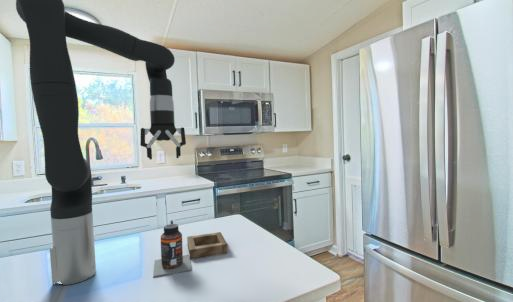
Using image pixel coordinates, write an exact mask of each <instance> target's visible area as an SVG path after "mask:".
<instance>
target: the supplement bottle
mask: <svg viewBox="0 0 513 302" xmlns="http://www.w3.org/2000/svg"><path fill="white" fill-rule="evenodd" d="M160 235H161V236H160V259H161V262H162V266H163V267H164V268H176V267H178V266H180V265H181V264H182V263H183V255H184V254H183V253H184V252H183V234H182V232H181V231H180V229H179V225H178V224H175V223H170V224H166V225H164V226H163V233H162V234H160Z"/></svg>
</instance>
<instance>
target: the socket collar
mask: <svg viewBox="0 0 513 302" xmlns="http://www.w3.org/2000/svg"><path fill="white" fill-rule="evenodd" d="M186 239H187V241H186V243H187V250H188V255H189V258H190V261H191V260H197V259H202V258H207V257H208V258H209V257H213V256H214V257H215V256H219V255H226V254H229V253H228V252H229V251H228V249H229V248H228V242H227V241H226V239H225V237H224V235H223V234H222V232H221V231H219V232H212V233H205V234H204V233H203V234H198V235H197V234H196V235H191V236H190V235H189V236H187V237H186Z"/></svg>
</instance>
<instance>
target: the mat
mask: <svg viewBox="0 0 513 302" xmlns="http://www.w3.org/2000/svg"><path fill="white" fill-rule="evenodd" d="M191 263H192V262H191V260H190V255H189V254H183V263H182V264H181V265H180V266H178V267H176V268H164V267H163V266H162V262H161V258H159V259H155V260H154V264H153V275H152V278H153V279H154V278H158V277H163V276H169V275H175V274H181V273H187V272H191V271H192V270H193V268H192V264H191Z"/></svg>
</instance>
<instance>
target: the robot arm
mask: <svg viewBox="0 0 513 302" xmlns="http://www.w3.org/2000/svg"><path fill="white" fill-rule="evenodd" d="M64 3H65V2H64V1H63V0H15V8H16V9H15V10H16V12H17V14H18V16H19V18H20V19H21V20H22V21H23V22H24V23H25V24H26V29H27V33H28V38H29V78H30V80H29V81H30V87H31V93H32V98H33V103H34V107H35V111H36V115H37V119H38V124H39V127H40V131H41V134H42V135H41V136H42V141H43V149H44V151H43V152H44V173H45V174H44V176H45V179H46V181H47V183H48V184H49V185H50V186H51V202H50V203H51V204H50V223H51V237H52V246H51V247H50V248H49V259H50V270H51V274H50V275H51V285H52V284H54V283H57V282H59V281H60V282H61V283H62V284H63V285H62V286H65V285H66V286H68V285H73V284H74V285H75V284H78V283H80V282H81V283H82V282H83V281H86V280H89V279H90V278H91V277H93V276H94V275H95V274H96V271H97V263H96V249H95V234H94V218H93V188H92V186H93V185H92V171H91V170H92V169H91V167H90V164H89V161H87V160H86V158H84V155H83V151H82V147H81V143H80V138H79V116H80V115H79V114H80V113H79V112H80V111H79V109H80V107H79V98H78V91H77V86H76V80H75V75H74V70H73V65H72V62H71V61H72V60H71V57H70V54H69V53H70V52H69V50H68V44H67V43H68V42H67V38H70V39H72V40H73V39H74V40H77V41H79V42H83V43H85V44H88V45H92V46H95V47H97V48H100V49H103V50H106V51H108V52H110V53H113V54H115V55H117V56H119V57H122V58H125V59H128V60H129V61H133V62H141V61H142V62H145V70H146V73H147V78H148V82H149V97H150V98H149V115H150V117H149V119H150V128H144V127H141V128H140V145H139V146H141V147H143V148H146V157H147V158H148V159H149V160H153V153H152V152H153V151H152V146H153V145H154V143H155V142H156V141H159V142H161V141H167V142H168V141H172V142H173V144H174V145H175V146H176V147H175V157H176V159H179V157H181V155H182V153H181V147H182V146H185V145H186V144H187V143H186V142H187V140H186V131H185V127H176V125H175V124H176V123H175V106H174V105H175V104H174V100H173V84H172V81H171V80H170V79H169V78H168V75H167V70H169V69H171V68H172V67H173V66H174V64H175V55H174V54H173V52H172V51H171V50H170V49H169V48H167V47H166V46H164V45H161V44H159V43H155V42H153V41H148V40H145V39H144V40H143V39H141V38H138V37H136V36H135V35H132V34H130V33H128V32H126V31H123V30H121V29H119V28H116V27H113V26H109V25H106V24H100V23H97V22H92V21H88V20H85V19H83V18H81V17H78V16H76V15H73V14H72V13H69V12H67V11H66V8H65V4H64ZM176 132H177V133H178V134H179V135H180V141H181V142H179V141H178V139H177V138H176V137H175V134H176ZM148 133H150V134H151V135H152V138H151V139H150V140H149V141H148V143H146V136H147V135H148ZM54 285H55V284H54Z"/></svg>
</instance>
